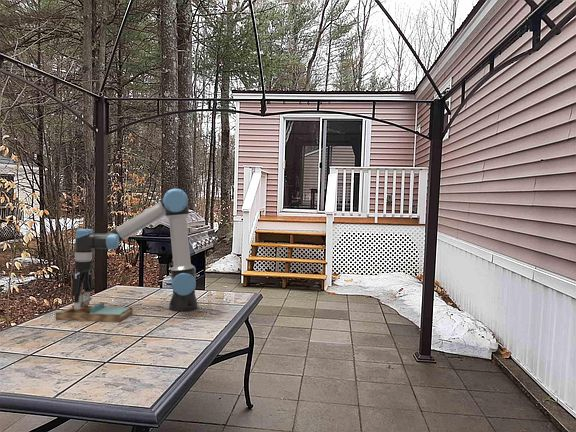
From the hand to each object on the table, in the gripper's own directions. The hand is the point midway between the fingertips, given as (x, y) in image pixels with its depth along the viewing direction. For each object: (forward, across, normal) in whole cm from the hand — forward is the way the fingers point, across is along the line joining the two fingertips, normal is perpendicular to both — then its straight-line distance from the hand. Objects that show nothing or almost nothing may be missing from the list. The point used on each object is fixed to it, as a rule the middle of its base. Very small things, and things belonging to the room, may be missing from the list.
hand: (81, 306), depth 203 cm
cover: (+2, 0, +14) cm, 14 cm away
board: (+5, 0, +7) cm, 8 cm away
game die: (+1, 0, 0) cm, 1 cm away
